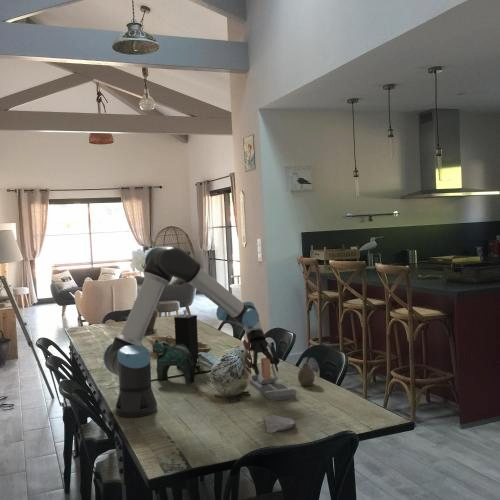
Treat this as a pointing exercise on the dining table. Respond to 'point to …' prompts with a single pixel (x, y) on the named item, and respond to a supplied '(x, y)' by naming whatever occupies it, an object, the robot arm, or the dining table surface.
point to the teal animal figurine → (173, 360)
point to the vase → (306, 375)
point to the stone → (277, 423)
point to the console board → (273, 389)
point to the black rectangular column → (187, 333)
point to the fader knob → (266, 371)
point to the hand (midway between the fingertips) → (269, 379)
